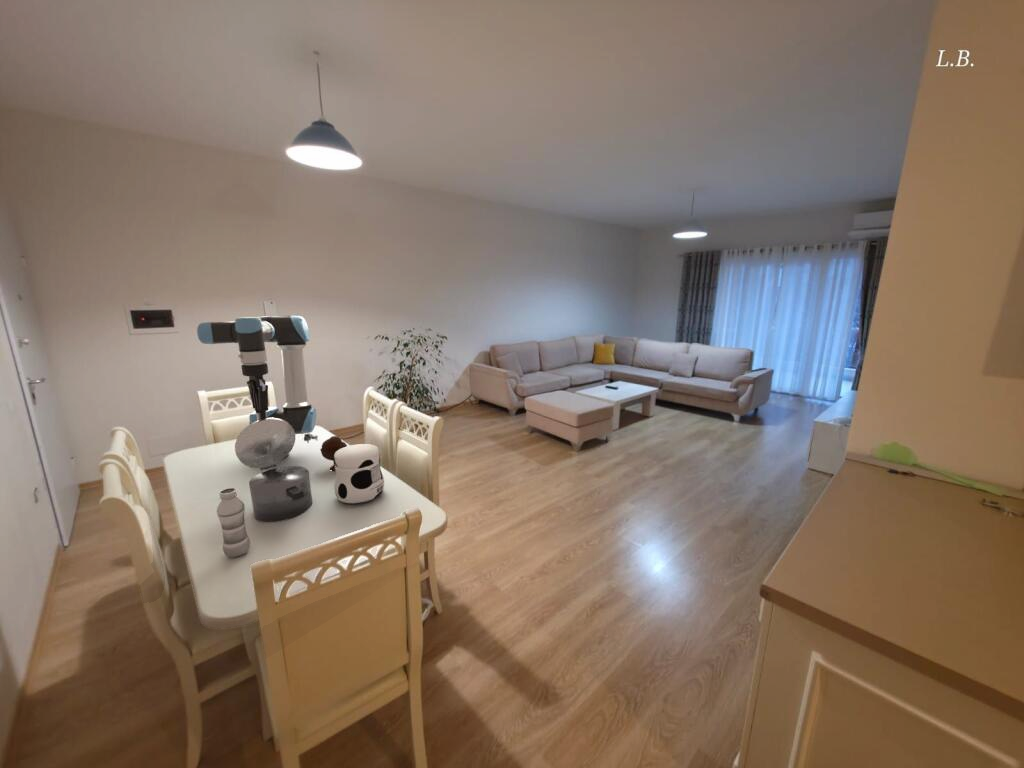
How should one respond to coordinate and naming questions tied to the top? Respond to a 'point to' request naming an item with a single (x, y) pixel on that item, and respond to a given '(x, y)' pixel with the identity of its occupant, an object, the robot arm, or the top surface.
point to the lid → (265, 443)
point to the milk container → (358, 474)
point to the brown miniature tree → (332, 448)
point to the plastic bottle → (232, 524)
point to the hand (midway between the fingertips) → (263, 429)
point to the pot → (280, 493)
